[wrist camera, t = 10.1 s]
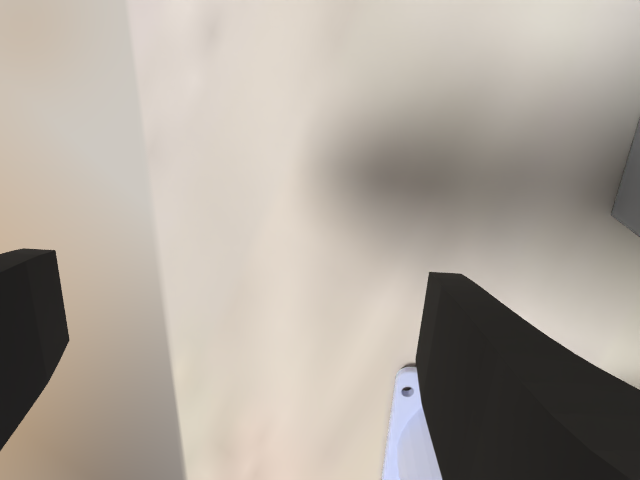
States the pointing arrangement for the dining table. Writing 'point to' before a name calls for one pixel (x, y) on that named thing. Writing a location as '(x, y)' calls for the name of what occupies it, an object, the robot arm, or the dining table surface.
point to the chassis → (630, 189)
